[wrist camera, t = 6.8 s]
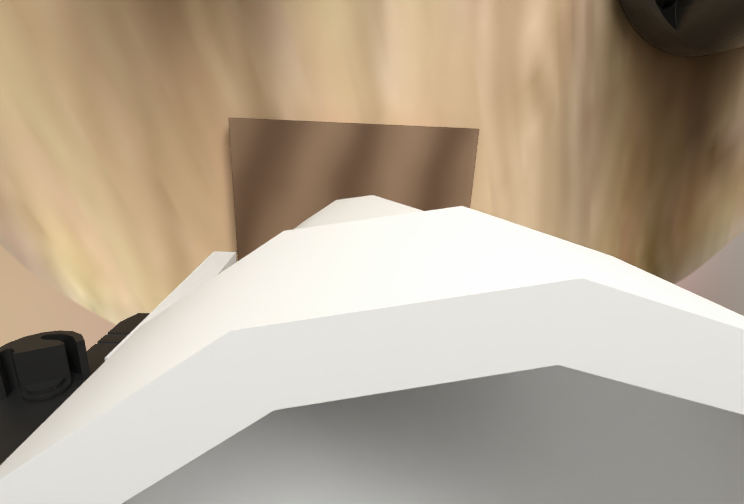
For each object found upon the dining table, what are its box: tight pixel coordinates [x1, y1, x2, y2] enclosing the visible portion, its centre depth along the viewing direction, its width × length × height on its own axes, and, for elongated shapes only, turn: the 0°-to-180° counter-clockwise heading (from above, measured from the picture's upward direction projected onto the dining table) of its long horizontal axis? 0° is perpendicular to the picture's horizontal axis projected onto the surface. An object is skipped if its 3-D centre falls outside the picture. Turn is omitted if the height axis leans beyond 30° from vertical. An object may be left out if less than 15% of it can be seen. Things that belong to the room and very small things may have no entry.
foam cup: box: [0, 195, 744, 504], centre depth 10 cm, size 10×9×13 cm
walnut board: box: [229, 118, 479, 261], centre depth 30 cm, size 18×13×2 cm
